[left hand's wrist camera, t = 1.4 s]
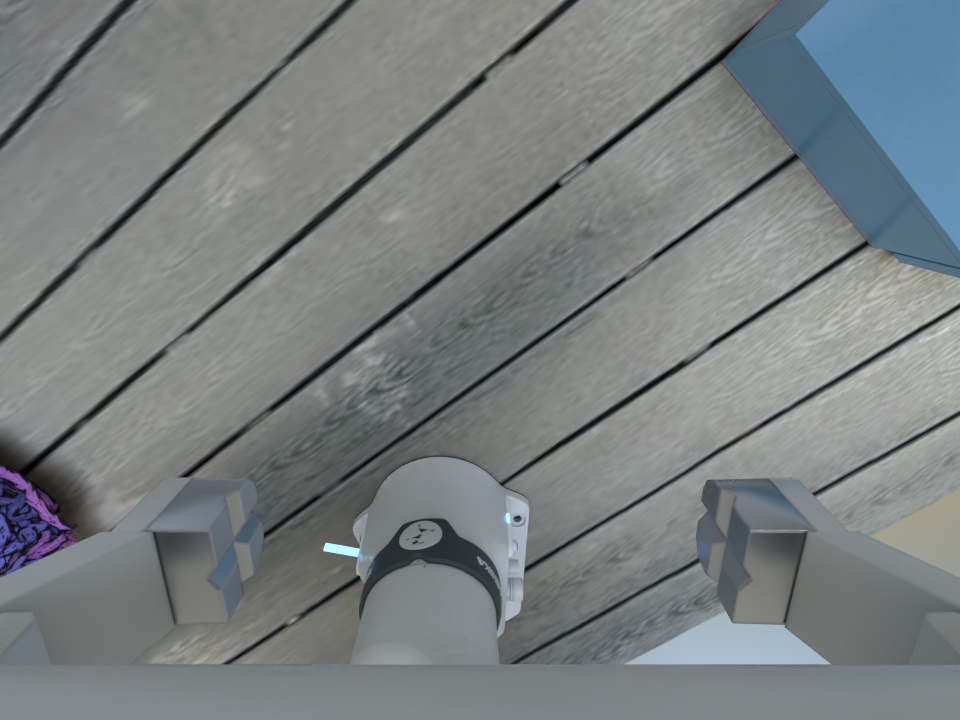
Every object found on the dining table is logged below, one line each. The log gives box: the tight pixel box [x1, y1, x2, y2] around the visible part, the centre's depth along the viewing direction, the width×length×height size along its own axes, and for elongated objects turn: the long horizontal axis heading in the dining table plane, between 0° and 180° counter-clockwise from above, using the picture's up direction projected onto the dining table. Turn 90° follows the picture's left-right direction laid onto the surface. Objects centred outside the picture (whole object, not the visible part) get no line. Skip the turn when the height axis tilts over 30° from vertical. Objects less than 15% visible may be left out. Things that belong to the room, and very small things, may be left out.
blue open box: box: [721, 0, 960, 268], centre depth 41 cm, size 22×11×11 cm, turn 47°
